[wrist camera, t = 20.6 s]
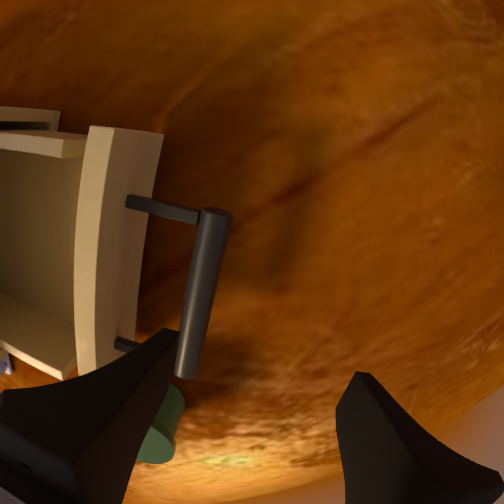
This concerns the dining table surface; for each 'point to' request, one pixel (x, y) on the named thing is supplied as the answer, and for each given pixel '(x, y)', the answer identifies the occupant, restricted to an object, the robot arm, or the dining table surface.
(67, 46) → the dining table surface
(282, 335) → the dining table surface
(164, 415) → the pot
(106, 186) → the drawer
